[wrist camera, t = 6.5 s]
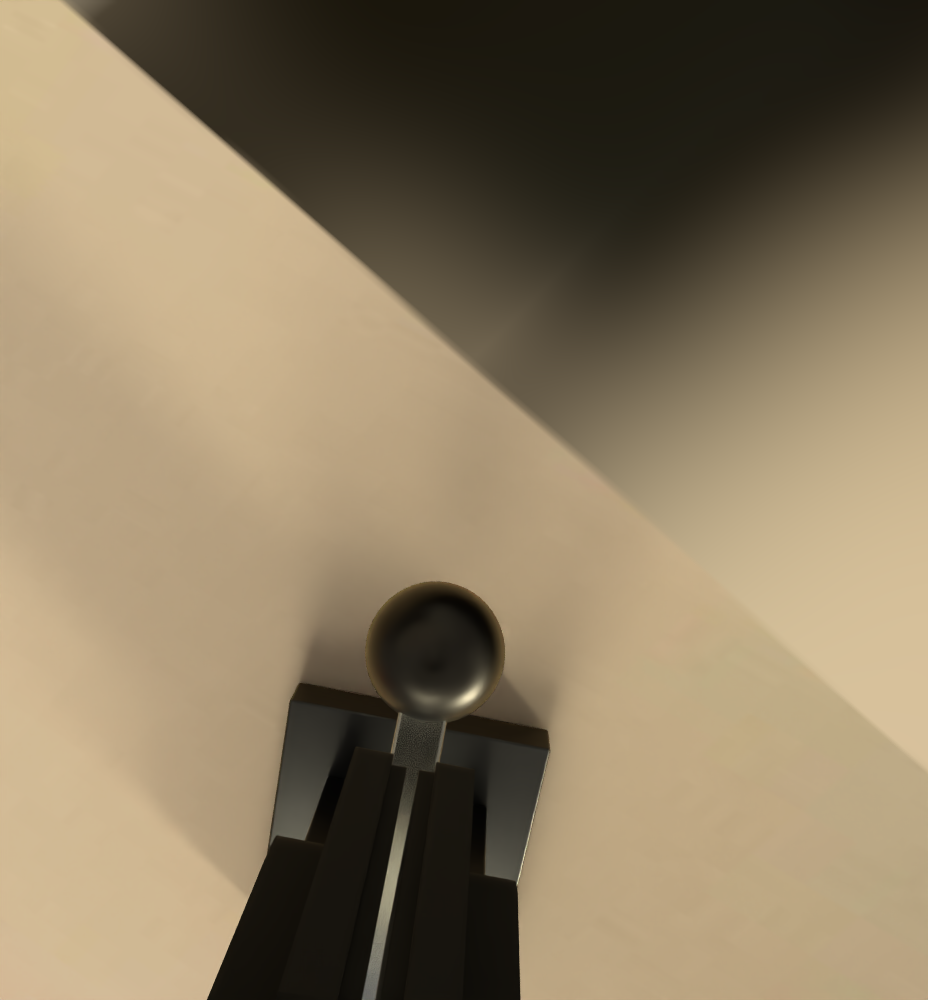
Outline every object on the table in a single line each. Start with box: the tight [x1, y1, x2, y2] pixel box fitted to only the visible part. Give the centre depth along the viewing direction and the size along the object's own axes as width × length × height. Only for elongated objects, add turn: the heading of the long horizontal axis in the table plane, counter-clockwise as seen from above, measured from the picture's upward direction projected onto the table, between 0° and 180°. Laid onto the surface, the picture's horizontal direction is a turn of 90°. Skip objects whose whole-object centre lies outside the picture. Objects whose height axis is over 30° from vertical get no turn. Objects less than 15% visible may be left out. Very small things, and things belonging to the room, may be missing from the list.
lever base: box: [267, 683, 550, 887], centre depth 21 cm, size 9×8×12 cm
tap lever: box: [362, 582, 505, 1000], centre depth 18 cm, size 13×3×3 cm, turn 169°
